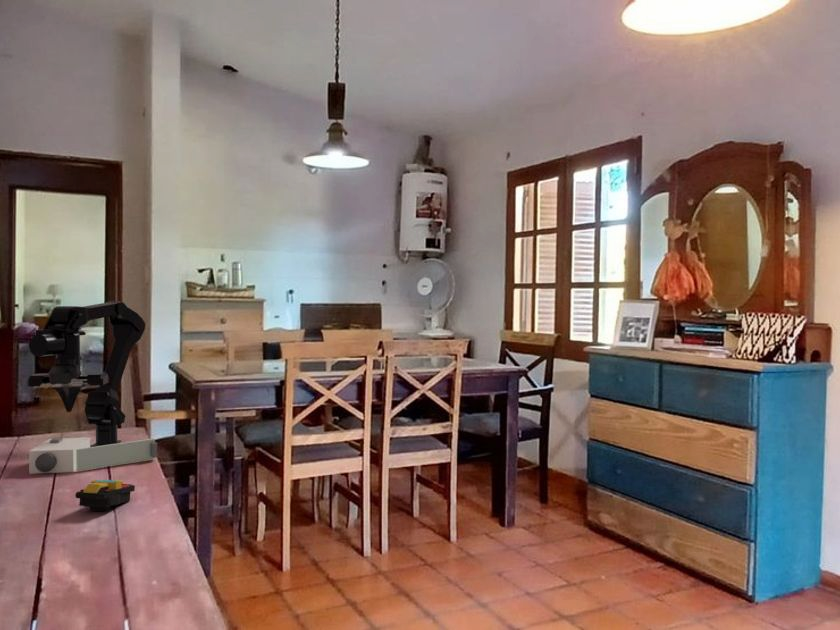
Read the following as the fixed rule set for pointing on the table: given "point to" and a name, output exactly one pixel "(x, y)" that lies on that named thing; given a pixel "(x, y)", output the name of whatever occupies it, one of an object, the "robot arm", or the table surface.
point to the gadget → (104, 494)
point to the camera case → (56, 455)
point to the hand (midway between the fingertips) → (69, 411)
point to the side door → (115, 454)
